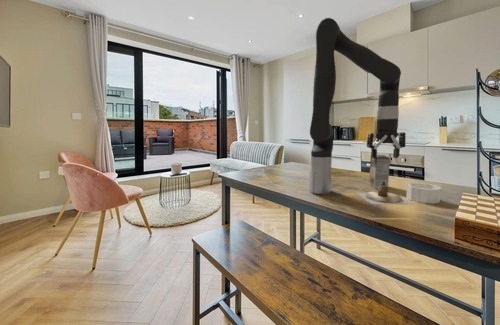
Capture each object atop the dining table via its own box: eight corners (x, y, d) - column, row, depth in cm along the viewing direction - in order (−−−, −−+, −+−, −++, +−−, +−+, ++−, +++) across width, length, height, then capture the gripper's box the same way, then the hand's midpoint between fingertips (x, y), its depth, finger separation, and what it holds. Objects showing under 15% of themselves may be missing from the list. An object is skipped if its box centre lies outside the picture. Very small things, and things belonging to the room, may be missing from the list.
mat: (372, 205, 91) (372, 204, 91) (355, 193, 107) (355, 192, 107) (414, 205, 90) (414, 203, 90) (391, 193, 106) (391, 192, 106)
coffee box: (368, 185, 121) (370, 155, 119) (381, 185, 120) (383, 155, 117) (374, 190, 112) (376, 157, 110) (388, 190, 111) (390, 157, 108)
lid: (374, 202, 92) (375, 190, 91) (360, 193, 105) (360, 182, 104) (407, 202, 92) (408, 190, 91) (389, 193, 104) (390, 182, 104)
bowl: (417, 204, 91) (418, 189, 90) (400, 196, 101) (401, 183, 101) (446, 204, 90) (448, 189, 89) (426, 196, 101) (427, 182, 100)
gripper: (373, 118, 90) (371, 159, 93) (411, 117, 89) (408, 158, 92) (365, 119, 98) (363, 157, 100) (400, 118, 97) (397, 156, 99)
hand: (385, 158), depth 96 cm, fingers open, 8 cm apart
